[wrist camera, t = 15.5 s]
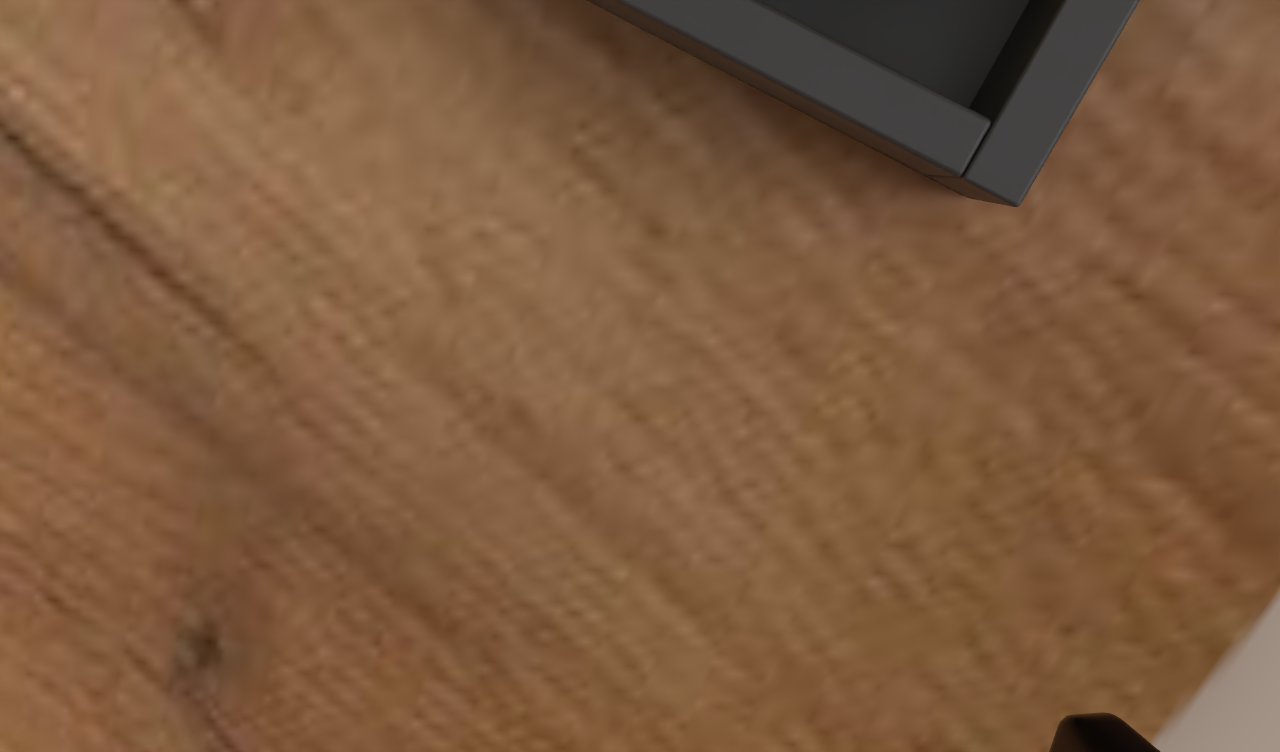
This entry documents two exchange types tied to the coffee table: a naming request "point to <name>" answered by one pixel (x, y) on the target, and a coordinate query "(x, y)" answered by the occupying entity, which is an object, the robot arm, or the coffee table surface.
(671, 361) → the coffee table surface
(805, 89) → the dark square open box
